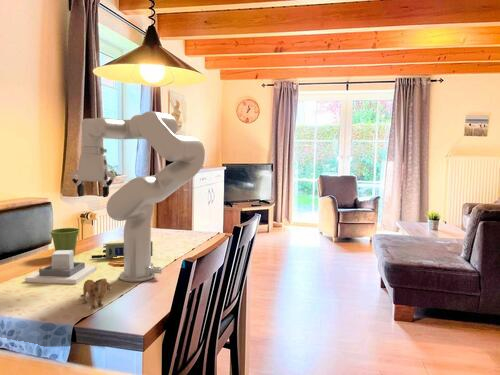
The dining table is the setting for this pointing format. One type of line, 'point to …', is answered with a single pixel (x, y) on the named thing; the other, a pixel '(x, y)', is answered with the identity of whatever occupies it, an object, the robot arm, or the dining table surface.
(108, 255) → the handheld radio
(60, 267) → the product box
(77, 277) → the dock
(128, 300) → the dining table surface
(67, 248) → the plant pot
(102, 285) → the lion figurine
